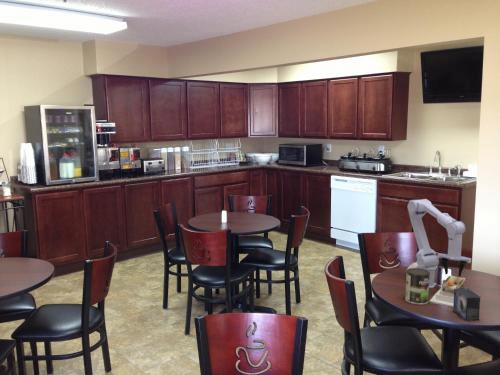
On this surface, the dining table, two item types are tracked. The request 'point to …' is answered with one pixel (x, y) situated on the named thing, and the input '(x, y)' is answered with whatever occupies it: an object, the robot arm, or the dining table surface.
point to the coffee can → (417, 286)
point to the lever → (457, 282)
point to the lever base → (433, 300)
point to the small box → (466, 304)
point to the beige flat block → (445, 296)
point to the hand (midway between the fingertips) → (453, 274)
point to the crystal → (414, 266)
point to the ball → (450, 282)
